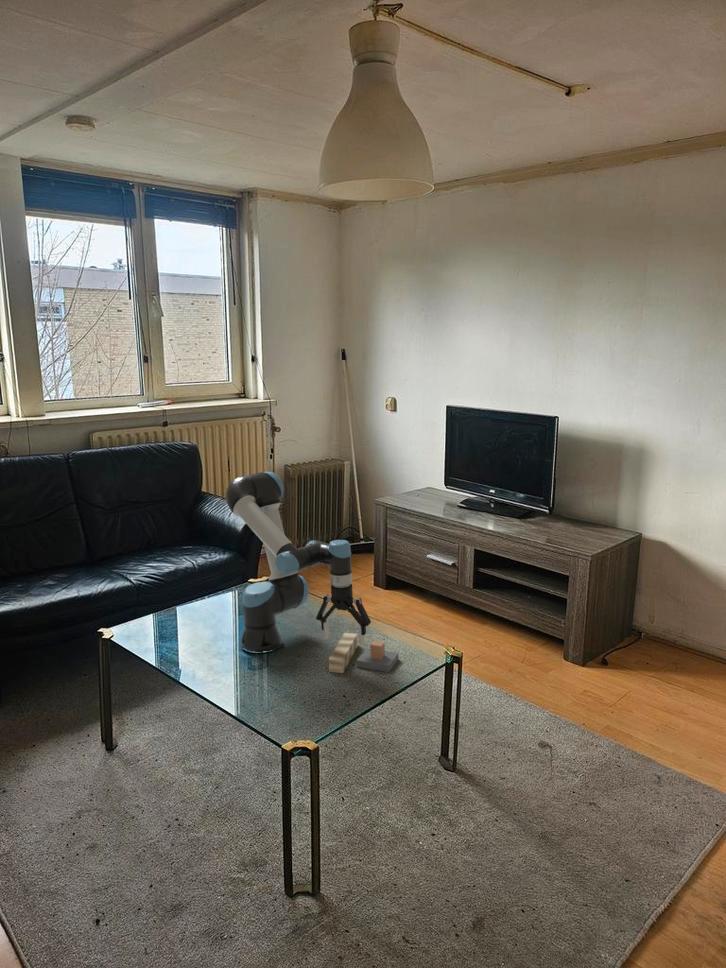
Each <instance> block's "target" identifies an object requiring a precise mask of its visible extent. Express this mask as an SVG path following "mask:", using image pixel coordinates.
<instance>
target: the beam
mask: <svg viewBox="0 0 726 968" xmlns="http://www.w3.org/2000/svg"><path fill="white" fill-rule="evenodd" d="M358 646H359V633H351V632H350V633H349V632H344V633H343V634H342V636H341V638H340V639H339V641H338V643H337V645H336V646H335V648H334V649H333V651H332V653H331V654H330V656H329V658H328V672H329V673H341V674H343V673H344V672H345V670H346V668H347V667H348V665H349V663H350V661H351V659H352V657H353V656H354V654H355V652H356V650H357V648H358Z"/></svg>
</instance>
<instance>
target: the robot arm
mask: <svg viewBox="0 0 726 968" xmlns="http://www.w3.org/2000/svg"><path fill="white" fill-rule="evenodd" d="M284 487H285V486H284V483H283V482H282V480H281V477H280V476H279V475H277V474H276V473H275V472H273V471H261V472H256V473H252V474H248V475H241V476H238V477H235V478H233V480H231V481H230V482H229V484H228V485H227V488H226V491H225V500H226V503H227V505H228V509H230V512H231V513H232V514H234V516H235V517H240V518H241V520H242V521H243V522H244V523H245V524H246V525H247V526H248V527H249V529H250V530H251V531H252V532H253V533H254V534H255V535H256V537H258V539H259V540H260V541H261V542H262V543H263V545H264V550H265V553H266V554H265V555H266V557H267V561H268V566H269V570H270V576H269V577H268V581H261V582H259V581H258V582H254V583H252V584H249V585H248V586H247V587H245V588H244V590H243V591H242V592H243V593H242V600H241V601H242V605H243V619H244V620H243V621H244V628H243V629H244V630H243V632H242V636H241V640H240V646H241V645H242V647H243V648H245V649H247V650H250V651H255V652H263V651H270V650H274V649H277V648H278V647H279V648H281V646H282V637H281V633H280V632H279V631H280V630H279V628H278V626H277V619H276V616H277V615H279V614H280V615H281V614H282V613H284V612H287V611H290V610H293V609H297V608H299V607H301V606H303V605H304V604H305V603H306V602H307V600H308V598H309V594H310V593H309V585H308V582H307V580H306V579H305V577H304V576H302V575H300V574H299V572H300V571H302V570H306V569H310V568H312V567H315V566H318V565H324V566H329V570H330V571H329V575H330V584H331V586H330V592H331V593H330V594H331V595H329V594H326V595H324V596H323V598H322V604H321V606H320V609H319V610H318V612H317V615H316V616H315V620H317V621H320V622H321V630H322V631H323V636H324V637H323V639H324V640H323V641H327V640H328V639H329V638H330V626H329V625H330V622H329V619H328V618H329V617H330V615H331V614H332V613H333V612H334V611H335V610H336V609H337V610H338V611H347V612H348V613H350V615H351V616H352V617H353V618H354V620H355V621H356V622H357V623H358V624H359V626H358V646H362V645H363V644H364V643H365V635H366V634H367V627H369V625H370V624H371V623H372V621H371V619H370V617H369V615H368V613H367V611H366V609H365V606H364V605H363V602H362V601H363V600H362V598H361V597H357V598H354V597H353V594H354V593H353V584H352V583H353V575H352V551H351V543H350V542H349V541H348V540H346V539H335V540H334V539H333V540H332V541H329V543H327V542H323V541H321V540H310V541H308V543H306V544H305V546H302V547H298V548H297V547H296V546H295V544H293V542H292V541H290V539H289V538H288V537H287V535H286V534H285V530H284V527H283V522H282V518H281V515H280V510H279V507H280V506H281V504H282V502H281V499H282V498H283V497H284V493H285V488H284ZM329 602H331V603H332V605H331V607H330V608H329V609H328V611H327V612H326V613H325V610H326V608H327V606H328V604H329ZM355 606H356V607H355ZM356 608H357V609H356ZM324 613H325V614H324ZM279 648H278V649H279ZM278 649H277V650H278ZM274 651H275V650H274Z"/></svg>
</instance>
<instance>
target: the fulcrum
mask: <svg viewBox="0 0 726 968" xmlns="http://www.w3.org/2000/svg"><path fill="white" fill-rule="evenodd" d="M385 648H386V647H385V641H380V640H379V641H378V640H373V641H372V642H371V644H369V648H366V649H365V650H364V651H363V652H362V654H361V655H360V656H359V657H358V658H357V659H356V668H362V669H365V670H366V669H367V670H373V671H380V672H385V673H386V672H387V673H390V672H391V670H392V669H393V668H394V667H395V665H396V664H397V663H398V661H399V652H395V651H394V652H393V651H388V650H387V651H386V649H385Z"/></svg>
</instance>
